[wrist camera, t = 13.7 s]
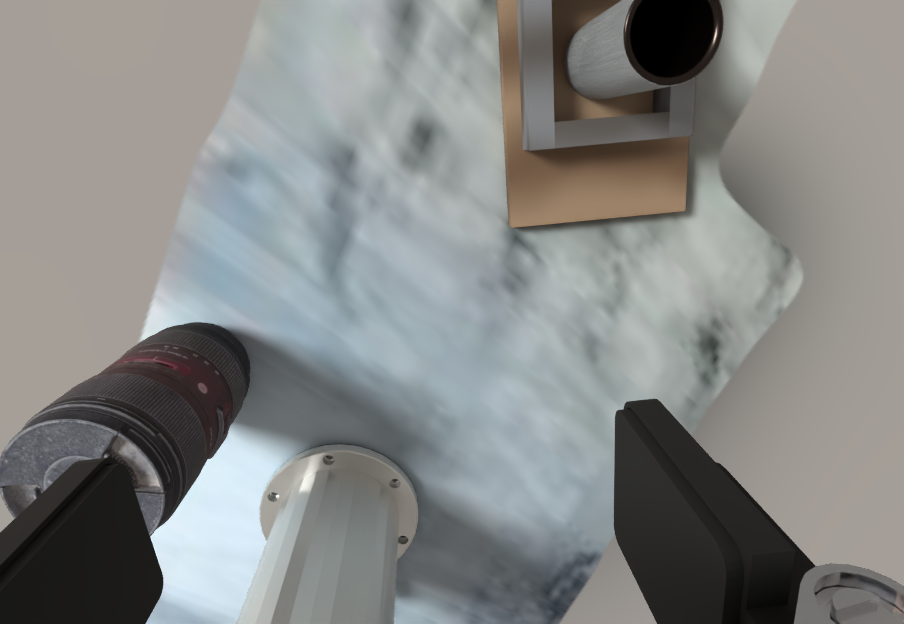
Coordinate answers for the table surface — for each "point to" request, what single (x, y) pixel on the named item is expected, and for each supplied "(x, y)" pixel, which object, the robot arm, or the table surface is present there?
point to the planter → (643, 46)
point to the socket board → (583, 127)
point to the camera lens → (138, 420)
